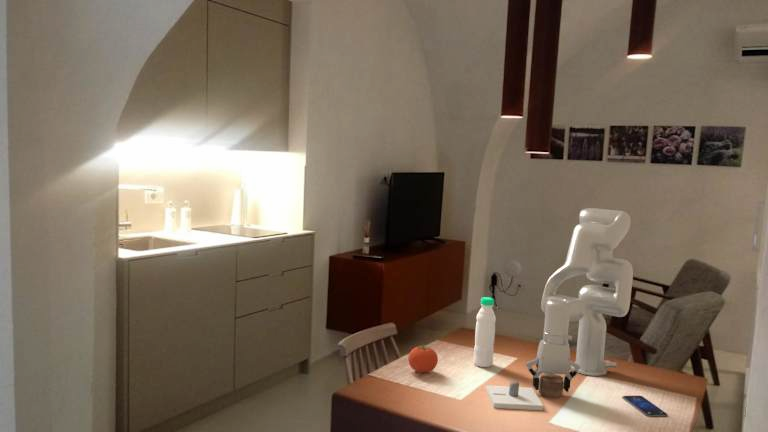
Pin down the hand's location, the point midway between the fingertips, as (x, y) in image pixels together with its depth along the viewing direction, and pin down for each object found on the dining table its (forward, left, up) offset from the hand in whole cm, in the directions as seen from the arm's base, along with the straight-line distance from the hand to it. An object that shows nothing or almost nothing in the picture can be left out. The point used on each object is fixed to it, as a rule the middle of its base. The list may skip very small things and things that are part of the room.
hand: (550, 389), depth 192 cm
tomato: (+41, -14, -2) cm, 43 cm away
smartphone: (-28, +6, -2) cm, 29 cm away
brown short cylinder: (0, 0, -2) cm, 2 cm away
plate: (+13, +6, -2) cm, 15 cm away
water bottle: (+18, -25, -2) cm, 31 cm away
